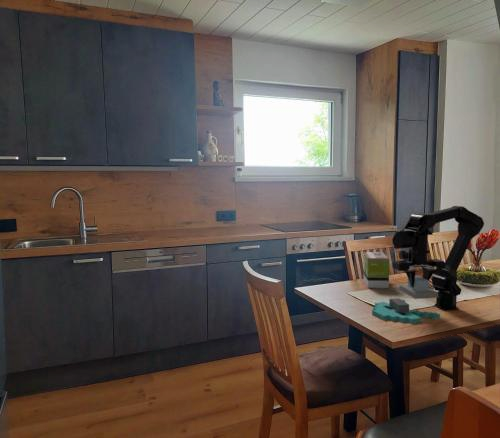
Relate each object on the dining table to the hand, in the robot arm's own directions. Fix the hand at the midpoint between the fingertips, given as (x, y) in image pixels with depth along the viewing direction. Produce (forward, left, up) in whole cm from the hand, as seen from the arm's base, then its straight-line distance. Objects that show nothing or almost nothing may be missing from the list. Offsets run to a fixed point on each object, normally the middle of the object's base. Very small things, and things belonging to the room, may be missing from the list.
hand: (418, 286), depth 151 cm
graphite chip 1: (+8, -2, -8) cm, 11 cm away
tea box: (-2, -40, -10) cm, 42 cm away
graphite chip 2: (+8, +2, -8) cm, 12 cm away
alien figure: (+8, +1, -11) cm, 13 cm away
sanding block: (0, 0, -3) cm, 3 cm away
